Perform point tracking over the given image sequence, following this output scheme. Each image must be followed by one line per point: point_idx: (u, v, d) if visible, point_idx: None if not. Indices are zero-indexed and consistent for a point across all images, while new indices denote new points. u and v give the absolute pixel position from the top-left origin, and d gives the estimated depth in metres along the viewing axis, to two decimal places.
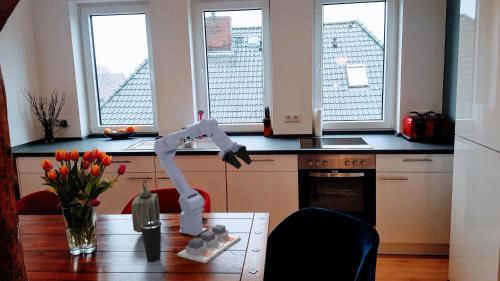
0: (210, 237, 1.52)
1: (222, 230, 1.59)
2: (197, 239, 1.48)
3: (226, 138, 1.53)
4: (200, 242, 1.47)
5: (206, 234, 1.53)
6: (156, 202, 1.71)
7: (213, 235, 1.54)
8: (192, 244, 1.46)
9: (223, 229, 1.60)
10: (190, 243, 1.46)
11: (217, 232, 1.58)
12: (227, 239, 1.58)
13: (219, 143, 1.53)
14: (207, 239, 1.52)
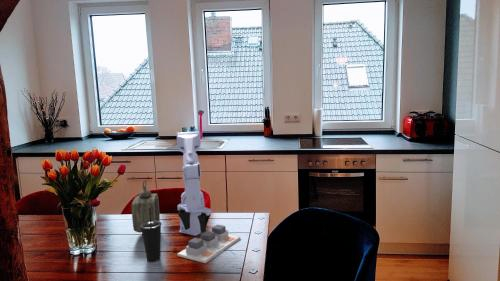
0: (210, 237, 1.52)
1: (222, 230, 1.59)
2: (197, 239, 1.48)
3: (186, 200, 1.43)
4: (200, 242, 1.47)
5: (206, 234, 1.53)
6: (156, 202, 1.71)
7: (213, 235, 1.54)
8: (192, 244, 1.46)
9: (223, 229, 1.60)
10: (190, 243, 1.46)
11: (217, 232, 1.58)
12: (227, 239, 1.58)
13: None
14: (207, 239, 1.52)
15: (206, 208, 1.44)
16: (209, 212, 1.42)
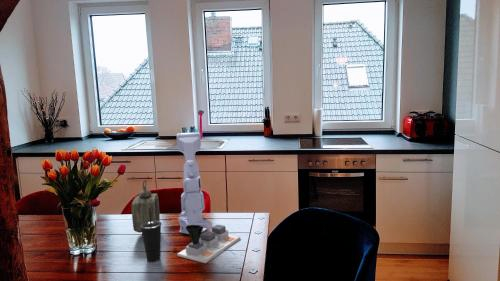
0: (210, 237, 1.52)
1: (222, 230, 1.59)
2: None
3: (187, 213, 1.44)
4: (200, 245, 1.47)
5: (206, 234, 1.53)
6: (156, 202, 1.71)
7: (213, 235, 1.54)
8: (192, 247, 1.46)
9: (223, 229, 1.60)
10: (190, 246, 1.46)
11: (217, 232, 1.58)
12: (227, 239, 1.58)
13: None
14: (207, 239, 1.52)
15: (207, 221, 1.45)
16: (210, 225, 1.42)
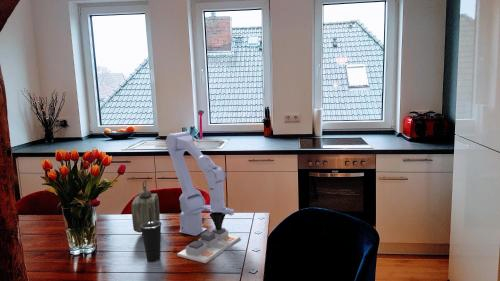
0: (210, 237, 1.52)
1: (222, 232, 1.59)
2: (197, 242, 1.48)
3: (211, 201, 1.56)
4: (200, 245, 1.47)
5: (206, 234, 1.53)
6: (156, 202, 1.71)
7: (213, 235, 1.54)
8: (192, 247, 1.46)
9: (223, 231, 1.60)
10: (190, 246, 1.46)
11: None
12: (227, 239, 1.58)
13: None
14: (207, 239, 1.52)
15: (229, 209, 1.57)
16: (232, 212, 1.55)
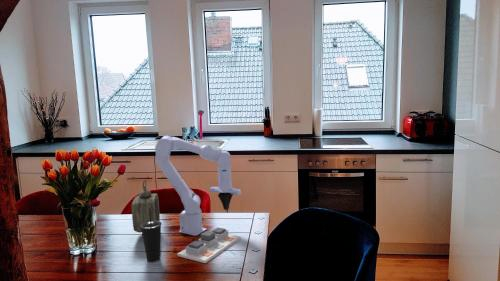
0: (210, 237, 1.52)
1: None
2: (197, 242, 1.48)
3: (220, 182, 1.66)
4: (200, 245, 1.47)
5: (206, 234, 1.53)
6: (156, 202, 1.71)
7: (213, 235, 1.54)
8: (192, 247, 1.46)
9: None
10: (190, 246, 1.46)
11: None
12: (227, 239, 1.58)
13: None
14: (207, 239, 1.52)
15: (236, 189, 1.67)
16: (240, 192, 1.65)
